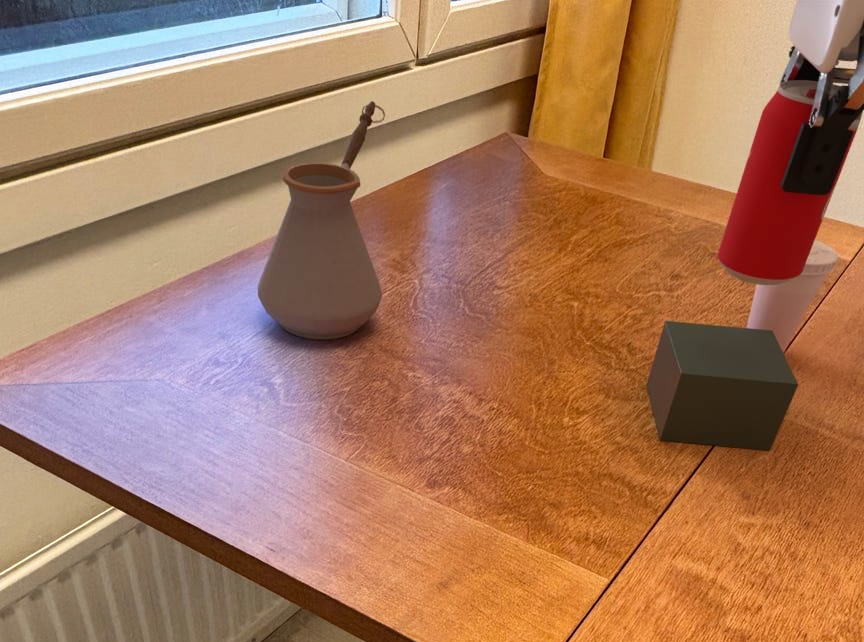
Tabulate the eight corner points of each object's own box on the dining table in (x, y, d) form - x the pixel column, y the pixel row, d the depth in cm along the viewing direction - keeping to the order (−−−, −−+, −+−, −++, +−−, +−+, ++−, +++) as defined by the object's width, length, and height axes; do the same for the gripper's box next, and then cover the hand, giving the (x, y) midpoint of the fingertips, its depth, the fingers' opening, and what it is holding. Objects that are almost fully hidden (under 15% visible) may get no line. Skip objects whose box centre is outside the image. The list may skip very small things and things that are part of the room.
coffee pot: (359, 359, 79) (366, 180, 69) (239, 336, 81) (228, 157, 70) (420, 267, 94) (433, 108, 83) (317, 249, 96) (317, 90, 85)
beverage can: (803, 267, 68) (872, 88, 60) (793, 297, 64) (867, 110, 56) (721, 249, 70) (777, 72, 61) (706, 277, 66) (765, 93, 57)
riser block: (747, 394, 79) (772, 330, 75) (770, 450, 72) (798, 384, 68) (646, 385, 79) (665, 320, 75) (659, 440, 73) (681, 373, 68)
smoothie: (804, 349, 85) (869, 196, 76) (785, 375, 82) (850, 217, 72) (740, 329, 88) (794, 177, 78) (718, 353, 84) (772, 197, 74)
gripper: (1052, -156, 43) (884, 226, 56) (928, -177, 55) (813, 141, 68) (897, -168, 43) (764, 215, 56) (807, -187, 55) (715, 132, 68)
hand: (792, 172), depth 62 cm, fingers closed on beverage can, 6 cm apart
